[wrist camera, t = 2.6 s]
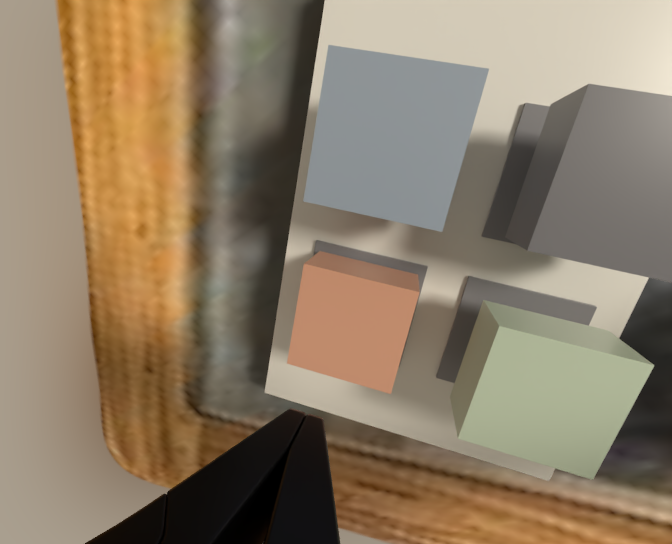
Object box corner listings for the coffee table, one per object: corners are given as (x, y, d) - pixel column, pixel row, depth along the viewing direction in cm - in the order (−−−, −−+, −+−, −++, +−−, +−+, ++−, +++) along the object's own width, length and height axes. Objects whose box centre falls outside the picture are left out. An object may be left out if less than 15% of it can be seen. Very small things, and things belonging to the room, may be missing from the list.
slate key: (473, 91, 12) (489, 68, 9) (436, 222, 13) (442, 231, 10) (344, 71, 12) (328, 44, 10) (321, 197, 13) (303, 201, 11)
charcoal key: (704, 128, 10) (790, 113, 8) (638, 266, 12) (696, 287, 9) (550, 104, 11) (588, 83, 9) (504, 237, 12) (527, 250, 10)
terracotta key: (418, 274, 15) (419, 292, 13) (393, 363, 16) (390, 394, 14) (320, 250, 16) (303, 263, 13) (304, 337, 17) (286, 363, 15)
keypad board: (726, 32, 13) (788, 3, 11) (535, 450, 19) (550, 484, 17) (341, -16, 15) (330, -47, 13) (277, 373, 21) (263, 394, 19)
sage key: (608, 330, 13) (654, 365, 10) (561, 428, 14) (592, 479, 12) (483, 299, 13) (499, 325, 11) (449, 396, 15) (457, 438, 12)
